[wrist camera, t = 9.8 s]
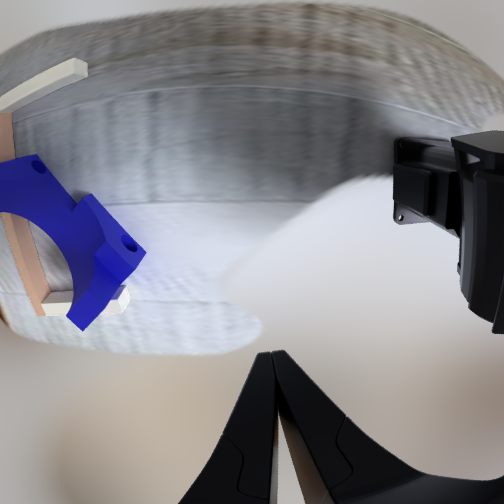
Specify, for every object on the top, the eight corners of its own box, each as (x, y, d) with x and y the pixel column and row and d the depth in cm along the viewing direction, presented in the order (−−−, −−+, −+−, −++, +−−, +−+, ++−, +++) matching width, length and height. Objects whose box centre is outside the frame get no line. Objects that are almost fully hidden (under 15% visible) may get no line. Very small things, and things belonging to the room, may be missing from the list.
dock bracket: (87, 62, 14) (74, 57, 12) (130, 299, 21) (122, 313, 19) (2, 105, 14) (-13, 105, 12) (47, 304, 21) (37, 315, 19)
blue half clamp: (147, 251, 20) (119, 294, 14) (112, 286, 21) (82, 331, 15) (47, 139, 16) (-5, 147, 10) (21, 181, 17) (-28, 201, 11)
